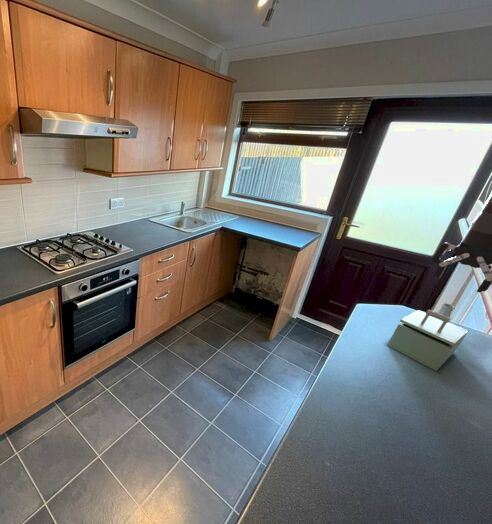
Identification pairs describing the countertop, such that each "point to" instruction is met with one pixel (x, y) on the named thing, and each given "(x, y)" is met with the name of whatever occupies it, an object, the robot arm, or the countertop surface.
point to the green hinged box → (421, 346)
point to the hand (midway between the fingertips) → (457, 284)
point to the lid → (435, 326)
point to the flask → (446, 309)
